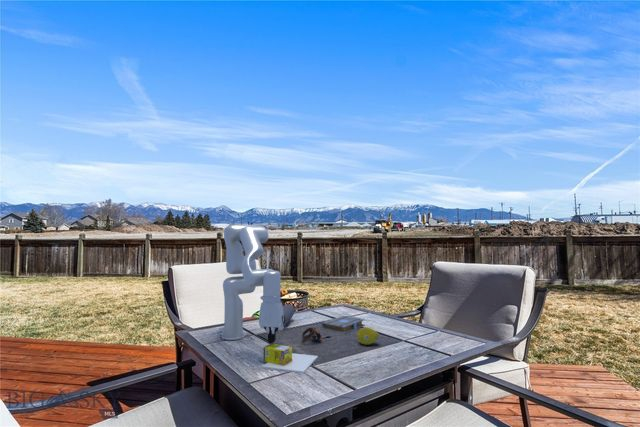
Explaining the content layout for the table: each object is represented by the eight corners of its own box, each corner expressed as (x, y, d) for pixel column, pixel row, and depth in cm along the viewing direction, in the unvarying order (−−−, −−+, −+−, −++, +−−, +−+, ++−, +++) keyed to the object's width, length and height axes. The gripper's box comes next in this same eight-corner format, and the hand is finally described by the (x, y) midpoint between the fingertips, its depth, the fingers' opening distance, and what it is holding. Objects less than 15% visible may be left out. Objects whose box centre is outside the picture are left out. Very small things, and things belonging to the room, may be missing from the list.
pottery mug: (323, 346, 169) (315, 332, 168) (306, 353, 171) (298, 340, 169) (324, 332, 181) (316, 320, 180) (308, 340, 182) (300, 327, 181)
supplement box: (263, 361, 146) (284, 365, 141) (263, 347, 147) (284, 350, 142) (271, 357, 152) (292, 361, 146) (271, 343, 152) (292, 346, 147)
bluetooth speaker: (280, 319, 221) (280, 303, 222) (295, 319, 220) (295, 303, 220) (270, 328, 199) (271, 311, 199) (286, 329, 197) (286, 311, 198)
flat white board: (262, 368, 141) (262, 366, 141) (280, 353, 158) (280, 352, 158) (303, 373, 135) (303, 371, 135) (317, 357, 152) (317, 355, 152)
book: (342, 322, 215) (342, 314, 215) (365, 326, 204) (365, 318, 205) (321, 329, 198) (321, 320, 198) (344, 334, 188) (344, 325, 188)
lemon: (354, 345, 169) (353, 328, 170) (360, 340, 176) (359, 324, 176) (375, 348, 164) (375, 331, 164) (380, 343, 171) (380, 327, 171)
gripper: (252, 300, 149) (252, 343, 148) (284, 302, 145) (284, 346, 144) (260, 297, 157) (260, 338, 155) (291, 298, 152) (291, 341, 151)
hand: (271, 342), depth 150 cm, fingers closed
